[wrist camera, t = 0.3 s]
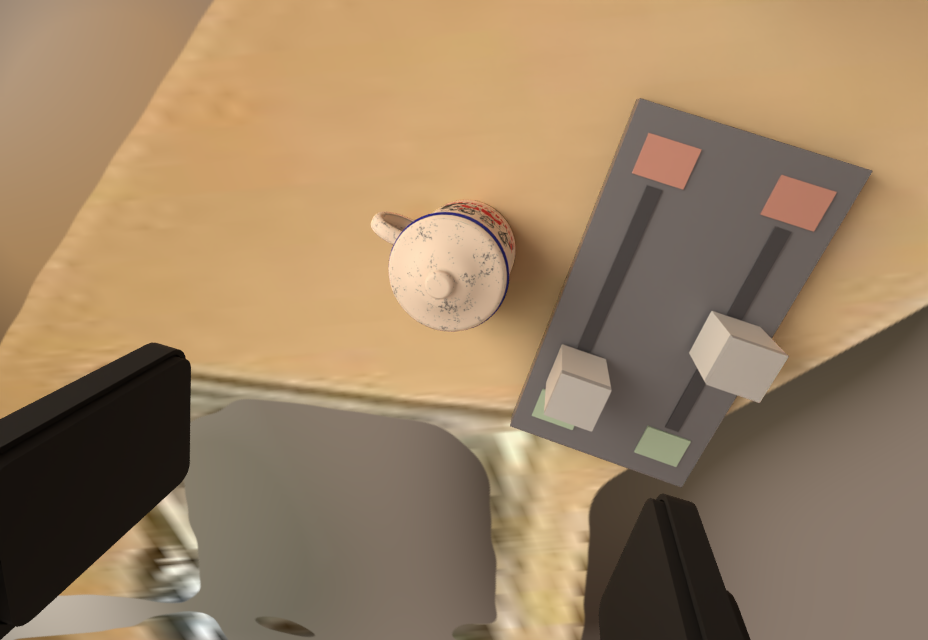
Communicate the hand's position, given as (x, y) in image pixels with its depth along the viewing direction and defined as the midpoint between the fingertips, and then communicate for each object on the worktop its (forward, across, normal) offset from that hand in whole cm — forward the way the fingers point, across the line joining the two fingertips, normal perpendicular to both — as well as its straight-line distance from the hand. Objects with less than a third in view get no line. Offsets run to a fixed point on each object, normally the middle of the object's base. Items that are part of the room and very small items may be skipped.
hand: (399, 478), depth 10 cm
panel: (+36, -14, +5) cm, 39 cm away
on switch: (+33, -8, +12) cm, 36 cm away
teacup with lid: (+36, +6, +4) cm, 37 cm away
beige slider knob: (+33, -18, +6) cm, 39 cm away
